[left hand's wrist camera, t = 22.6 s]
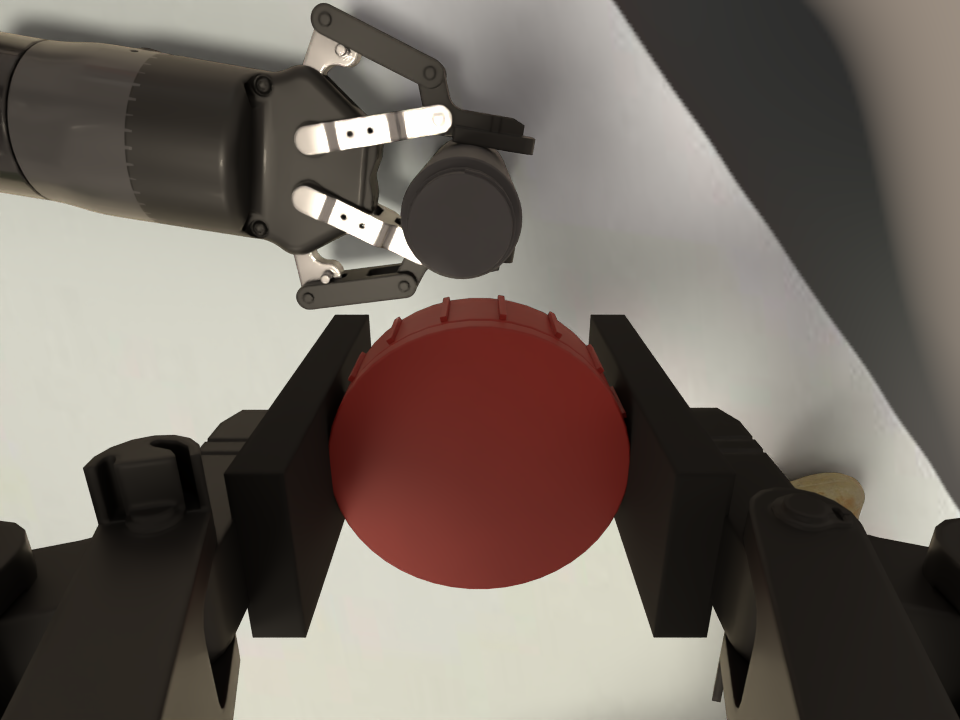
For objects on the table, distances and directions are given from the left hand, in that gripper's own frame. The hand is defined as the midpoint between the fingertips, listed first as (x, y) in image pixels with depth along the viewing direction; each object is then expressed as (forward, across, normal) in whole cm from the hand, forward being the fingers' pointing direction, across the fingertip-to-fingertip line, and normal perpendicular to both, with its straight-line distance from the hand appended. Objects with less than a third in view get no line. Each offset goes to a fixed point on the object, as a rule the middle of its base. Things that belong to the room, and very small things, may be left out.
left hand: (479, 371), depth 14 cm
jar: (+24, +1, -2) cm, 24 cm away
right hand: (+17, -2, -2) cm, 18 cm away
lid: (-4, 0, 0) cm, 4 cm away
